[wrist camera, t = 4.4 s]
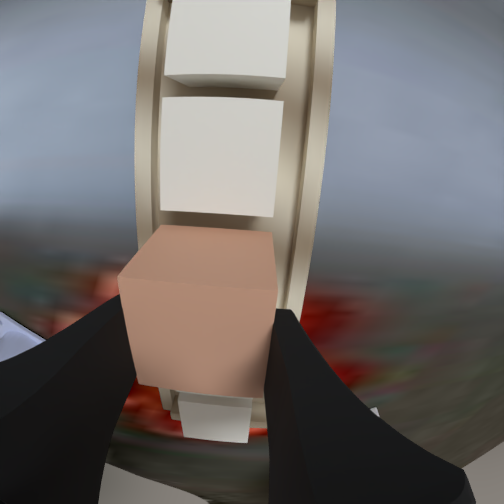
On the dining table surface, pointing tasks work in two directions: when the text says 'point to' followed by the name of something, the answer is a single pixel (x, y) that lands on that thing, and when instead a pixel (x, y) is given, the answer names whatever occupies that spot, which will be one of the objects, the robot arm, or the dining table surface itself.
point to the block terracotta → (201, 309)
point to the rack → (290, 154)
